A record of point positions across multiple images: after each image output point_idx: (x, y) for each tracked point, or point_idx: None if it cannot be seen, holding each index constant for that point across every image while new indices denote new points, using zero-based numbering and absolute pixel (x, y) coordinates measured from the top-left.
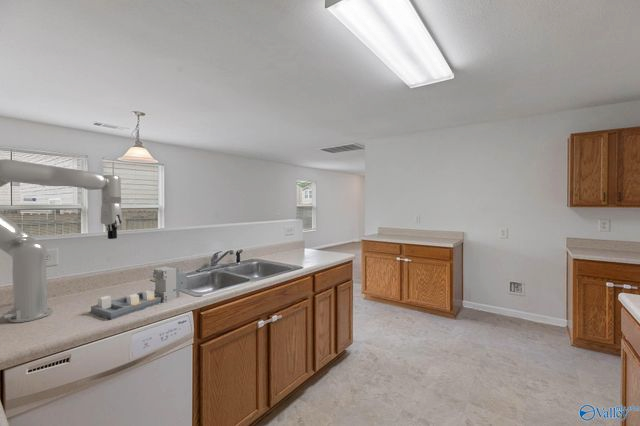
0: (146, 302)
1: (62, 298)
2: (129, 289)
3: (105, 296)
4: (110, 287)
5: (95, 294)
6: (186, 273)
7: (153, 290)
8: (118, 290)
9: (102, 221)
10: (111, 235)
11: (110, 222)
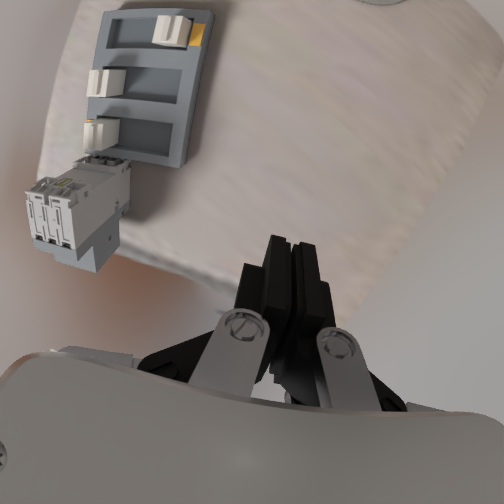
0: (88, 107)
1: (445, 107)
2: (307, 225)
3: (162, 30)
4: (391, 230)
5: (379, 156)
6: (56, 258)
7: (86, 148)
8: (337, 208)
9: (464, 457)
10: (261, 274)
11: (34, 380)
